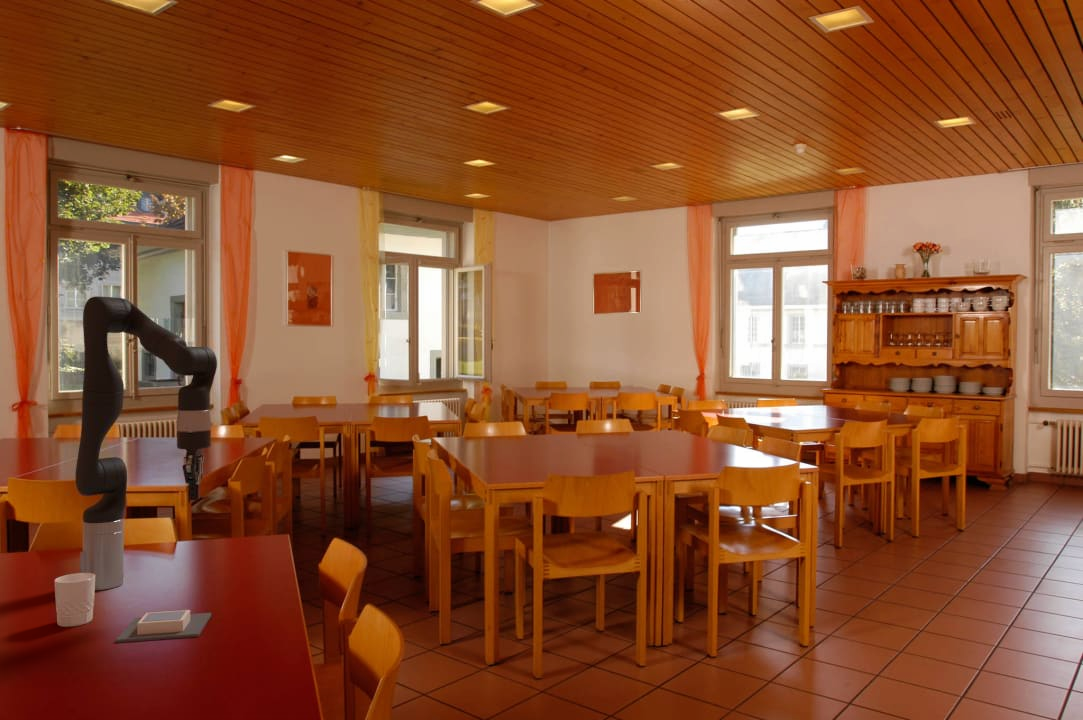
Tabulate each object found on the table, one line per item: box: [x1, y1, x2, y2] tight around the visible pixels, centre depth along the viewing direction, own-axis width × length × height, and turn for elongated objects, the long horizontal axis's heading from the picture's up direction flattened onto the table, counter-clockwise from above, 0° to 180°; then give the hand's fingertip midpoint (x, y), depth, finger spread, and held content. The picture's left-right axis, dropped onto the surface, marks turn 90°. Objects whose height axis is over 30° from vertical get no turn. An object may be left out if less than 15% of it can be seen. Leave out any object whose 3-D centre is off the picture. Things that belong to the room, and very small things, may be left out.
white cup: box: [54, 572, 96, 628], centre depth 173 cm, size 8×8×10 cm
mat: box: [115, 612, 212, 644], centre depth 169 cm, size 16×14×1 cm
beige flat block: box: [137, 609, 191, 635], centre depth 168 cm, size 9×2×7 cm
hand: (193, 499), depth 187 cm, fingers closed
